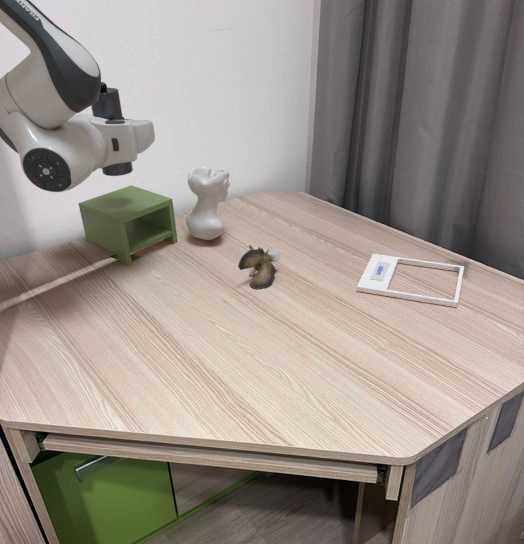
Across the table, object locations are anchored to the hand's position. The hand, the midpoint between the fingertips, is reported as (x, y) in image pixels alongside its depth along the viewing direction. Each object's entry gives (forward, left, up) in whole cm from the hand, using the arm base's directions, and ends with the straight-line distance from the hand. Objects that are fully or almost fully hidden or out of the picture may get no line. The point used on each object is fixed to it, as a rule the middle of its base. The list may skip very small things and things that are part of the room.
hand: (111, 123), depth 104 cm
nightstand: (0, 0, -26) cm, 26 cm away
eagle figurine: (+32, +6, -26) cm, 41 cm away
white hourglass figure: (+11, +14, -26) cm, 31 cm away
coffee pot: (-1, +1, -9) cm, 9 cm away
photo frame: (+56, +23, -26) cm, 66 cm away
